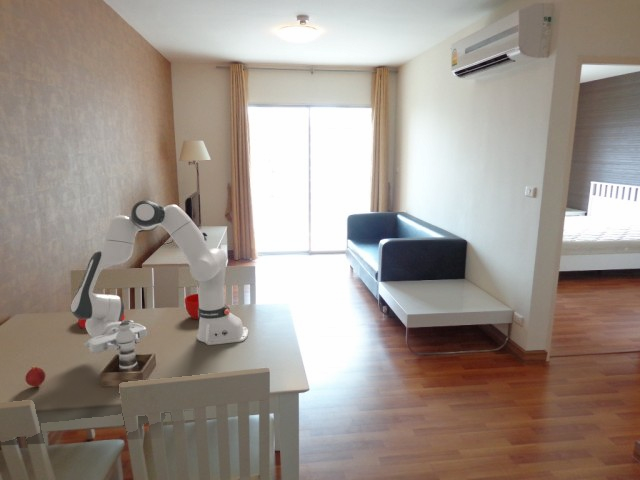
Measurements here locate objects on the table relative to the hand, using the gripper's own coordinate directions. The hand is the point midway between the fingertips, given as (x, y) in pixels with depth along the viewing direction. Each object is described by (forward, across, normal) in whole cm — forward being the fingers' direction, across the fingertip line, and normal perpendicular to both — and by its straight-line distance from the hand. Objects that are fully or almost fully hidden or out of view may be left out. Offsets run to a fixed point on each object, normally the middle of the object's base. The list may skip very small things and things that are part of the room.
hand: (127, 344), depth 154 cm
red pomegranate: (-18, -25, +13) cm, 33 cm away
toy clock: (-62, +15, +13) cm, 65 cm away
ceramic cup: (-31, +51, +13) cm, 61 cm away
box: (-1, 0, +13) cm, 13 cm away
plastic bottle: (-1, 0, +12) cm, 13 cm away
